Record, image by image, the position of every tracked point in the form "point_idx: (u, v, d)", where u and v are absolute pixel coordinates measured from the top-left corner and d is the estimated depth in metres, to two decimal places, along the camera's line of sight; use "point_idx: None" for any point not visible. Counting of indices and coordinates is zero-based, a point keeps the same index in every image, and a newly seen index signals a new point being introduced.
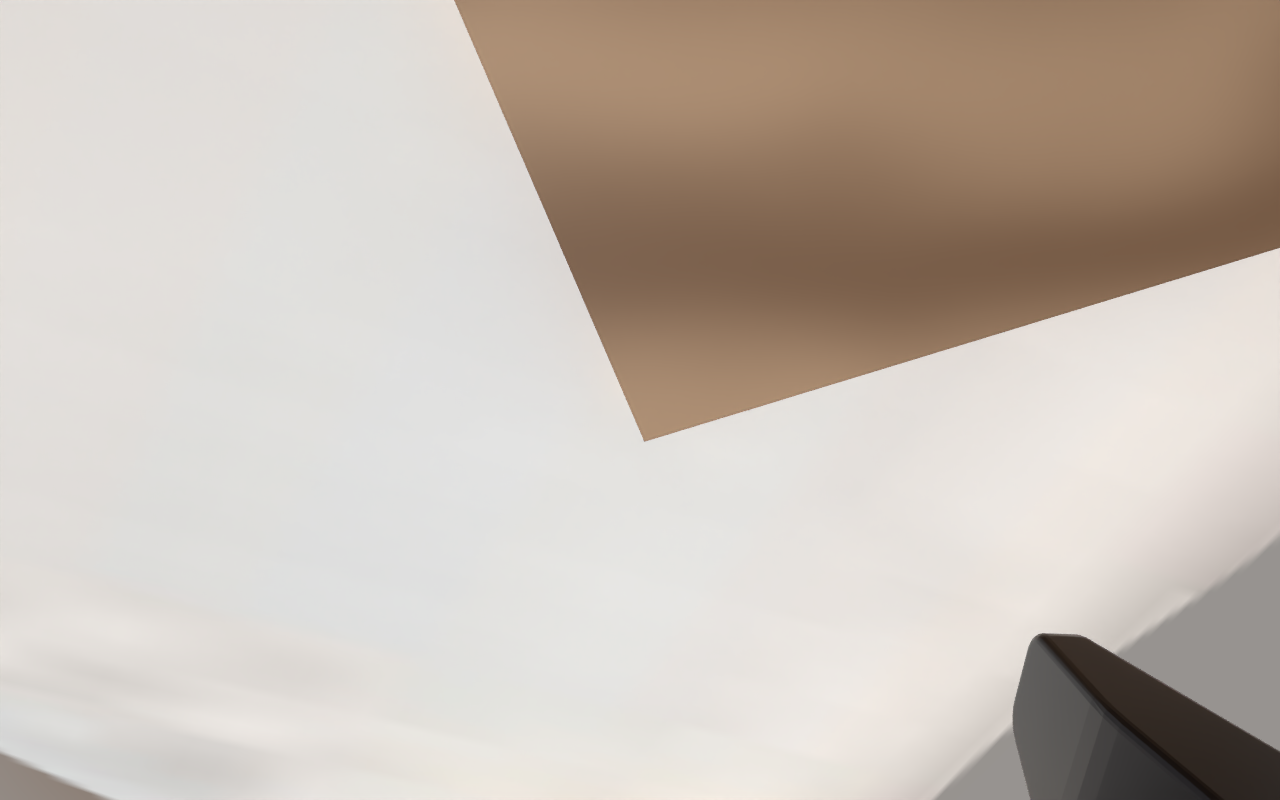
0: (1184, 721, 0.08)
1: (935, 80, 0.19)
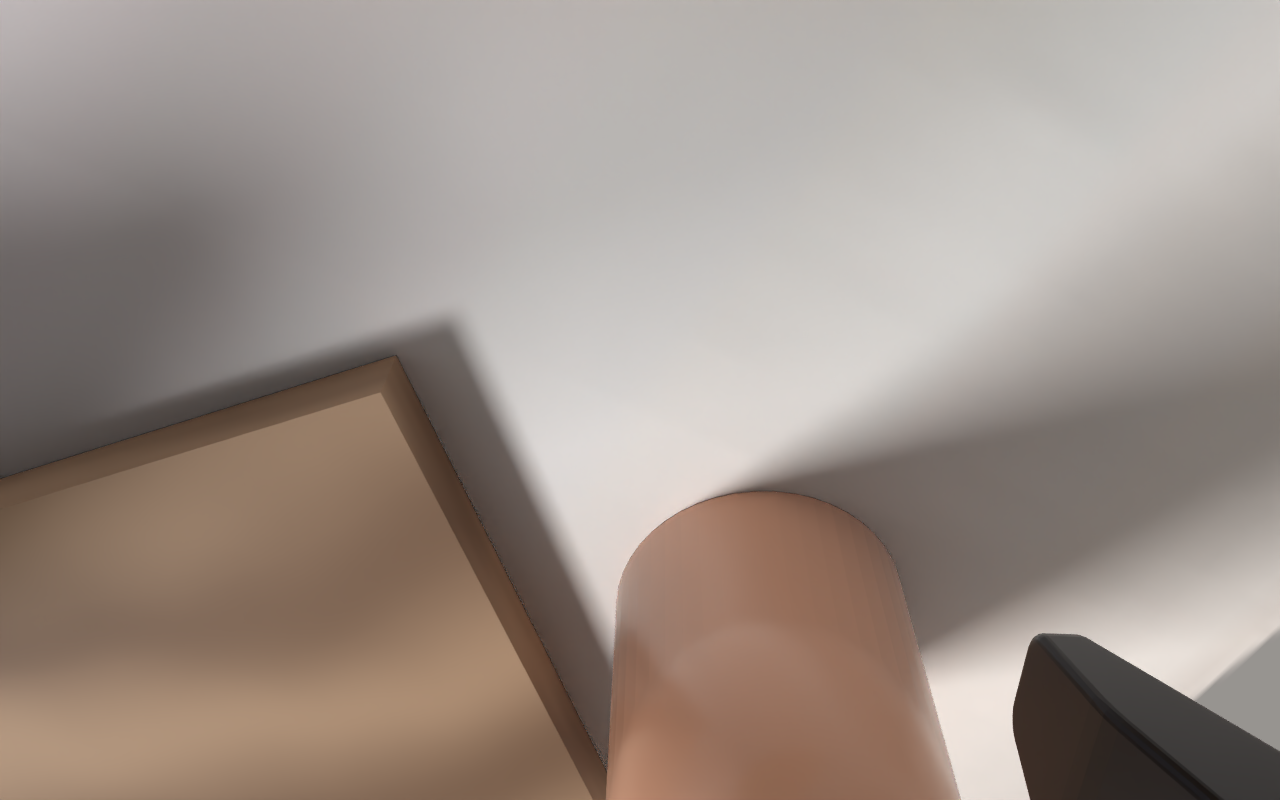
0: (1185, 722, 0.08)
1: None
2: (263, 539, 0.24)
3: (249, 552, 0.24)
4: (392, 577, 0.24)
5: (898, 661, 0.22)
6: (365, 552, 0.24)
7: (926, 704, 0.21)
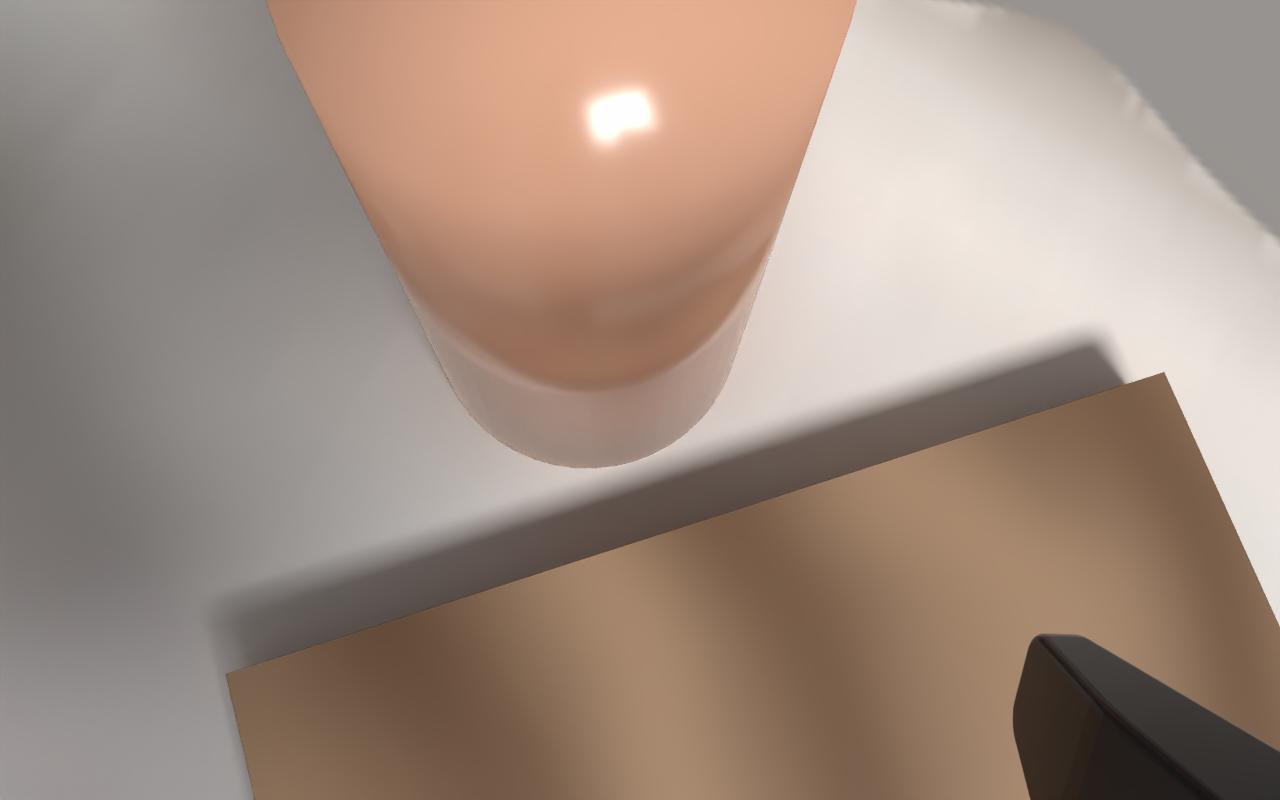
0: (1184, 723, 0.08)
1: None
2: None
3: None
4: (464, 692, 0.22)
5: None
6: (428, 718, 0.21)
7: None
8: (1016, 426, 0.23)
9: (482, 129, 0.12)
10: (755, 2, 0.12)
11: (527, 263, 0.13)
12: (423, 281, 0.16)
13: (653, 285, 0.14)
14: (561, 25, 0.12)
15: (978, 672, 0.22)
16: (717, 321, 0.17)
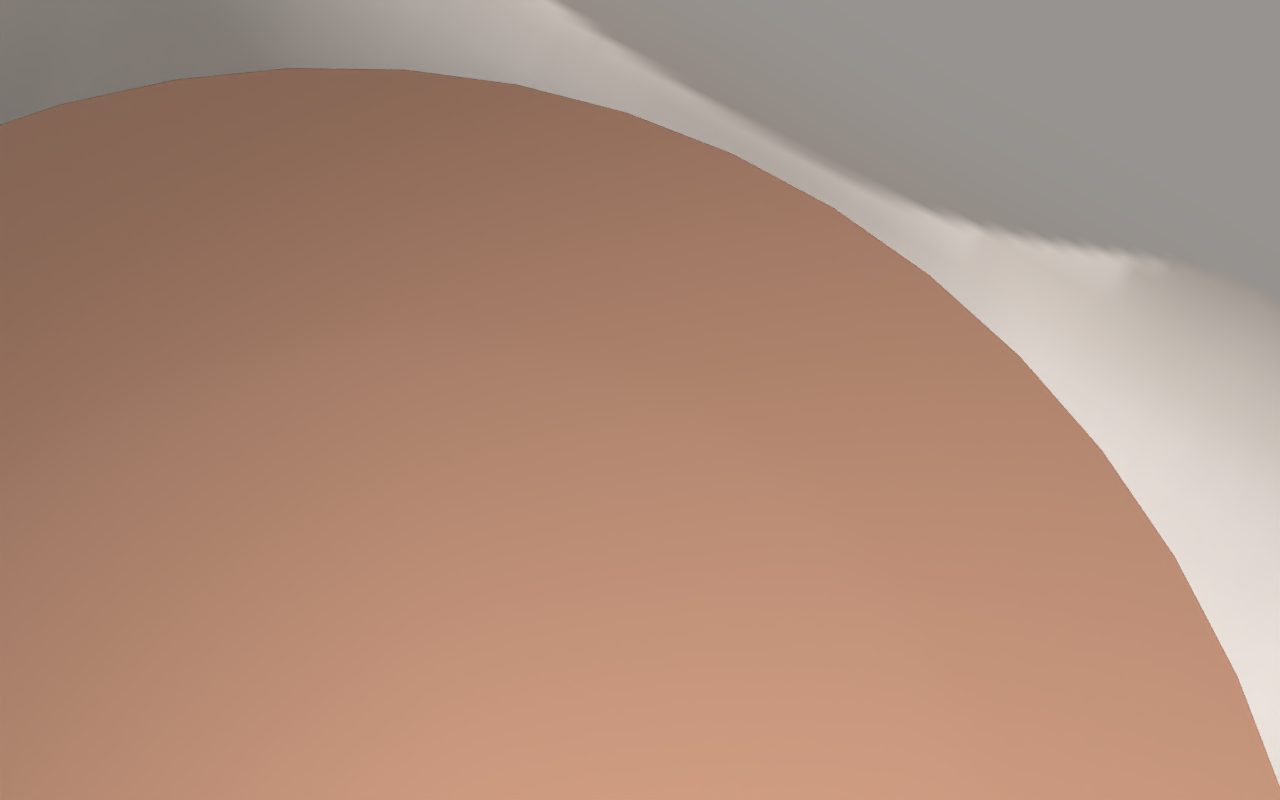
0: None
1: None
2: None
3: None
4: None
5: None
6: None
7: None
8: None
9: None
10: None
11: None
12: None
13: None
14: None
15: None
16: None
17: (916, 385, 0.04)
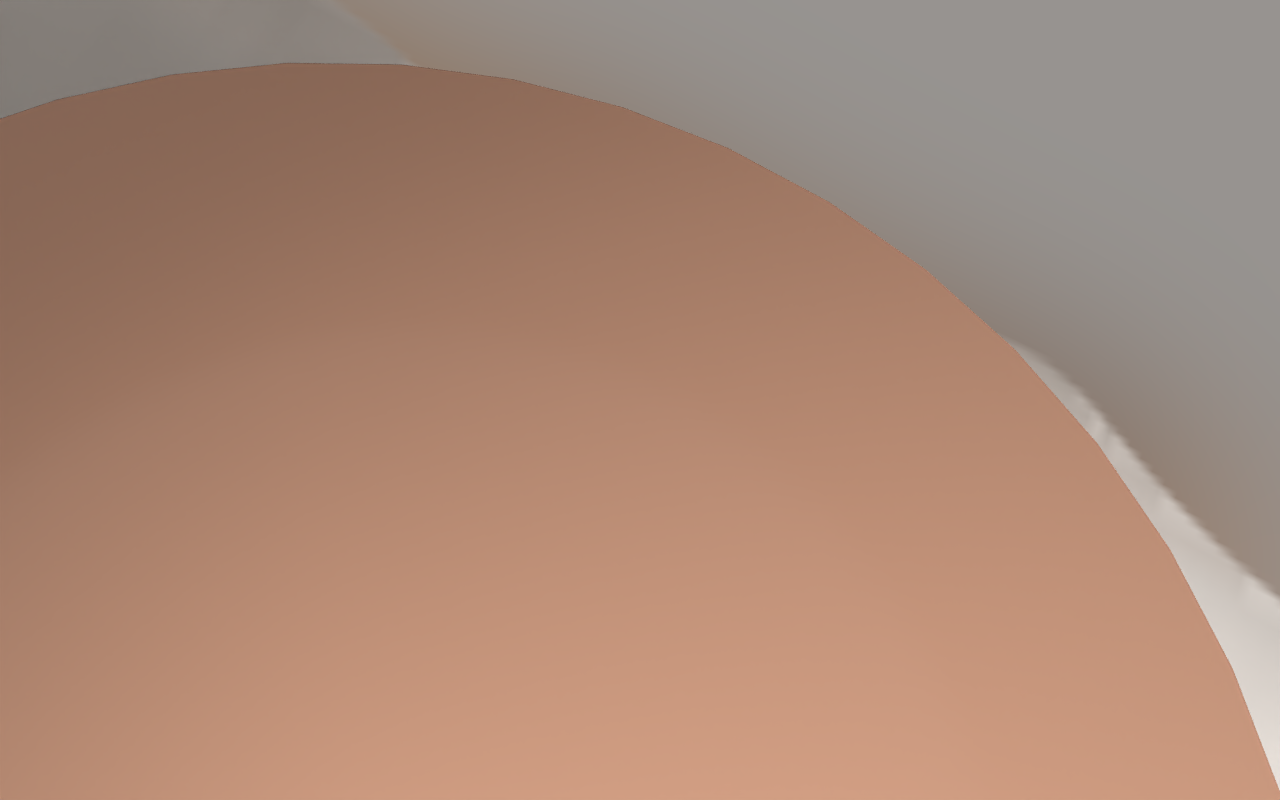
0: None
1: None
2: None
3: None
4: None
5: None
6: None
7: None
8: None
9: None
10: None
11: None
12: None
13: None
14: None
15: None
16: None
17: (912, 379, 0.04)
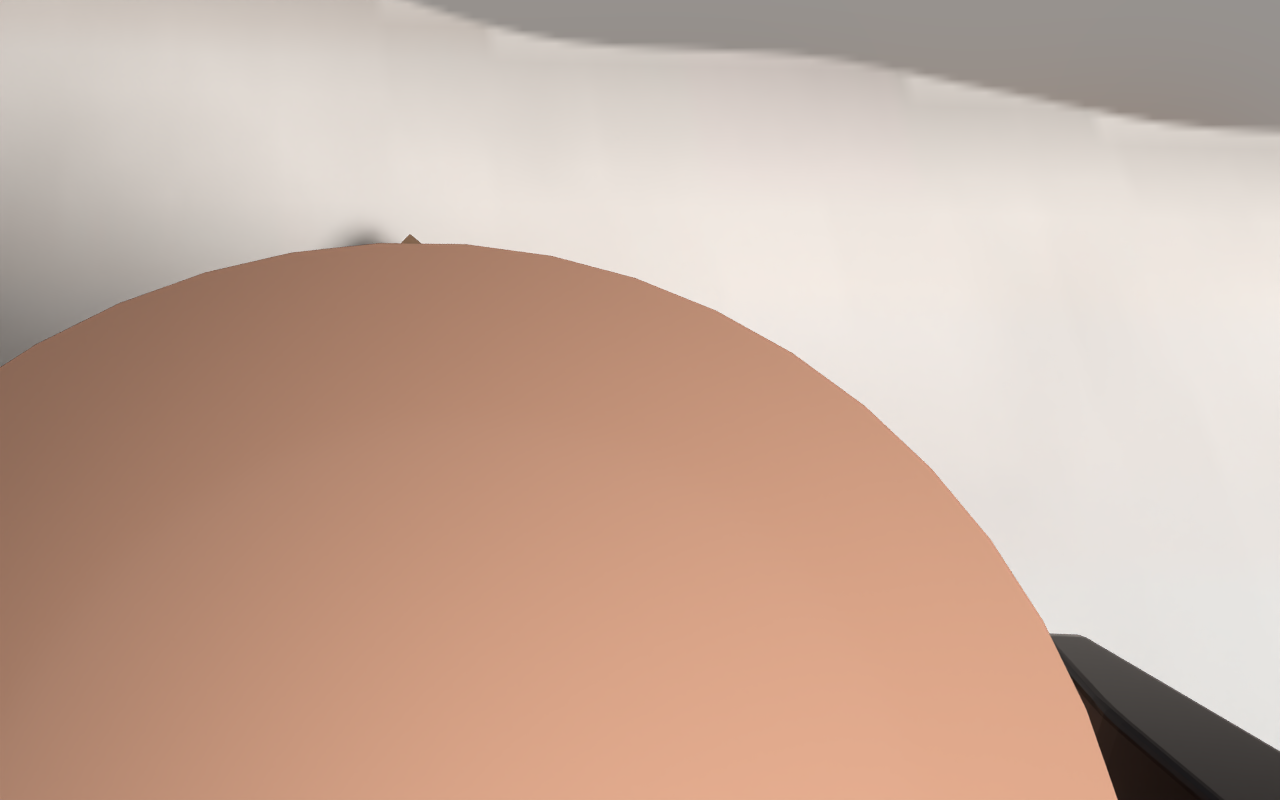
0: (1185, 723, 0.08)
1: None
2: None
3: None
4: None
5: None
6: None
7: None
8: None
9: None
10: None
11: None
12: None
13: None
14: None
15: None
16: None
17: (853, 490, 0.05)
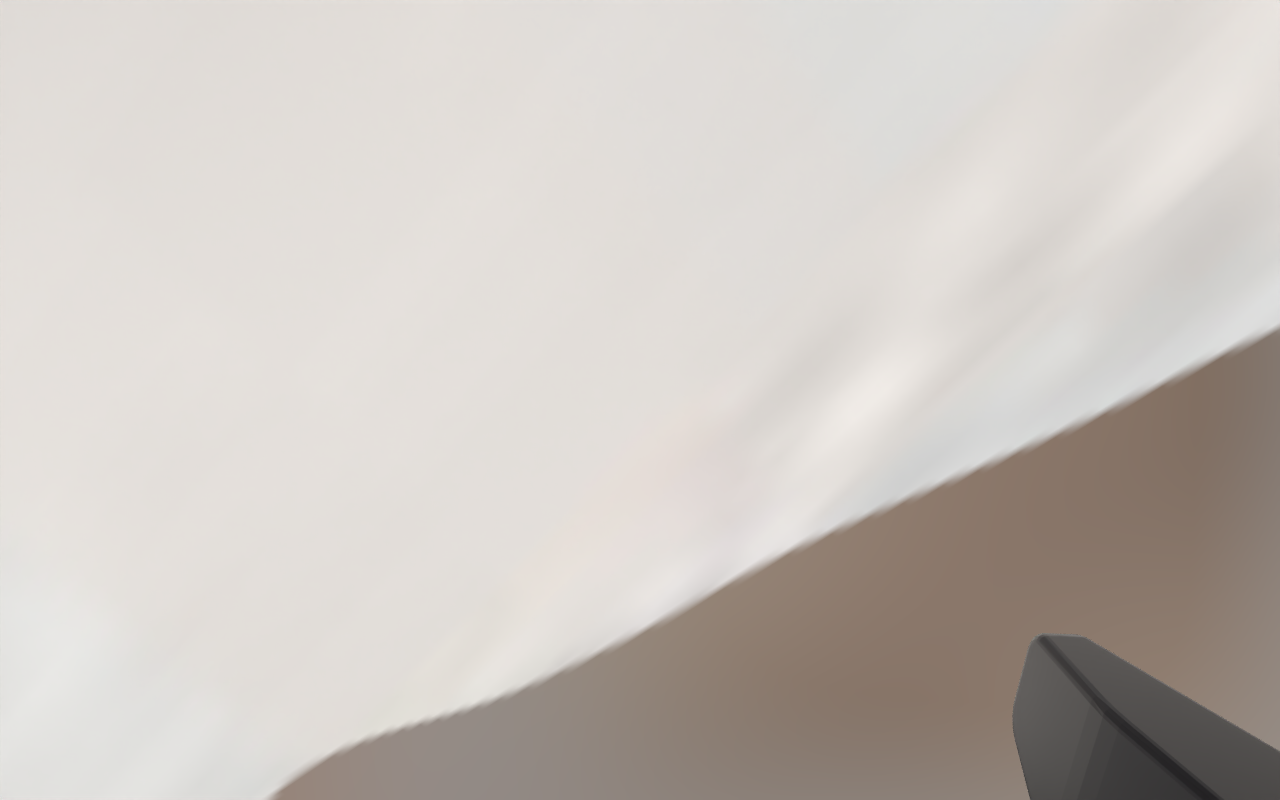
0: (1185, 721, 0.08)
1: None
2: None
3: None
4: None
5: None
6: None
7: None
8: None
9: None
10: None
11: None
12: None
13: None
14: None
15: None
16: None
17: None
